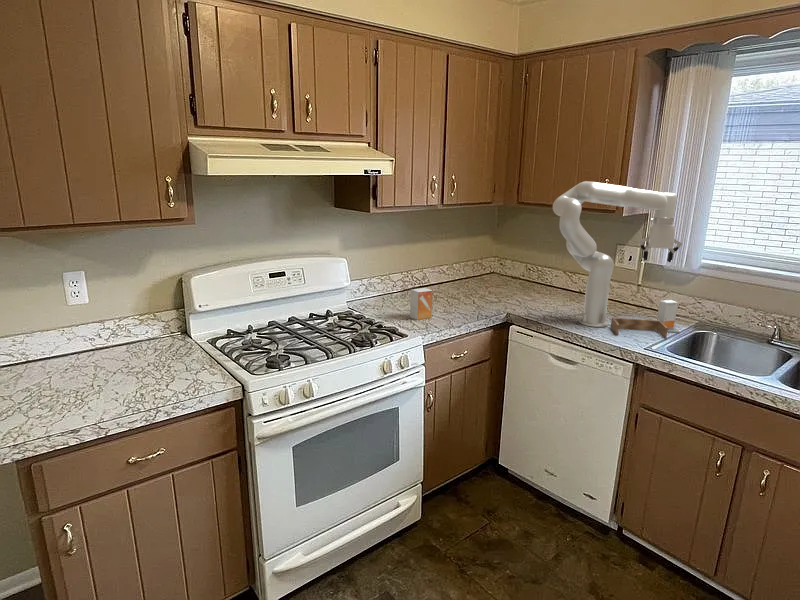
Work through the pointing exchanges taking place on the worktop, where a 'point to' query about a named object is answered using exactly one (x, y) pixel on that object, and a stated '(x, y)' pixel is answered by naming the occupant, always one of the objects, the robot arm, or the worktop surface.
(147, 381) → the worktop surface
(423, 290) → the small box
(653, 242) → the robot arm
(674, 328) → the mat
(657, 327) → the brown u-shaped bracket
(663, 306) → the skincare box
